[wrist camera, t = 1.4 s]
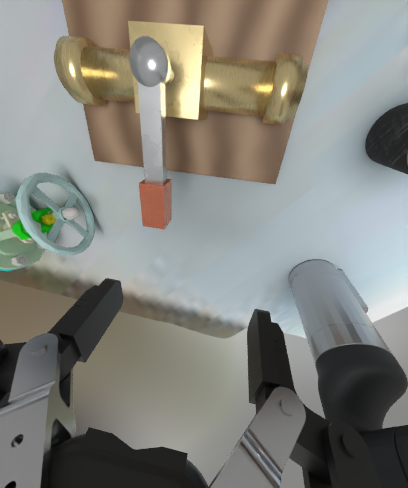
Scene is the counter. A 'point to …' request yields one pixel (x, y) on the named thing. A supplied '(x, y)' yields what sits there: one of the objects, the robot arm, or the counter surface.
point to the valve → (38, 223)
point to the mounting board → (223, 44)
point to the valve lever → (152, 128)
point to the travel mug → (390, 139)
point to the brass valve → (184, 75)
